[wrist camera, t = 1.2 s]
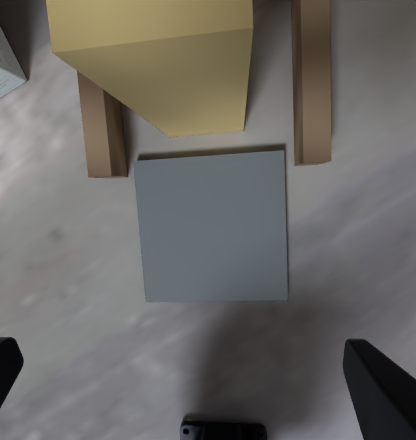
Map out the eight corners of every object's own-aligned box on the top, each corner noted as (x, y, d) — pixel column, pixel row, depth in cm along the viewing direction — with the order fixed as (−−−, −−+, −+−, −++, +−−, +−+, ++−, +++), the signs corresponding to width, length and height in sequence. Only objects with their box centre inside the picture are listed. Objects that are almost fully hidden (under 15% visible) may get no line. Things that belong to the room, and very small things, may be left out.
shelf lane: (318, 164, 18) (331, 161, 15) (107, 178, 20) (88, 177, 17) (316, -38, 16) (329, -78, 14) (89, -5, 18) (65, -35, 16)
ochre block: (243, 131, 18) (253, 27, 6) (169, 137, 19) (52, 52, 7) (240, 51, 18) (244, -230, 6) (164, 59, 18) (24, -179, 6)
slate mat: (286, 297, 19) (288, 300, 19) (148, 298, 20) (145, 302, 20) (282, 151, 18) (284, 150, 17) (136, 161, 19) (133, 161, 19)
